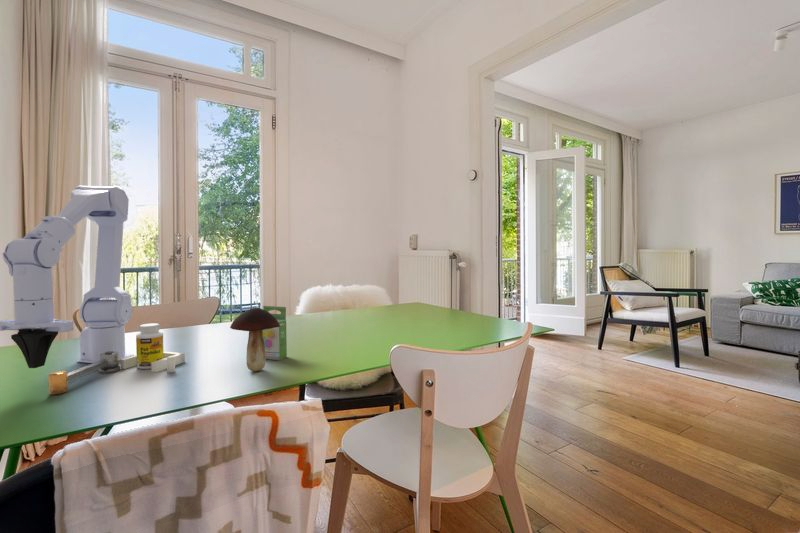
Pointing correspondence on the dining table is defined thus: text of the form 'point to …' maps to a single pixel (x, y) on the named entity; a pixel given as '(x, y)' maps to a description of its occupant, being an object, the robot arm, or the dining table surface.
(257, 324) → the decorative mushroom
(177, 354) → the socket
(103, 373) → the mount
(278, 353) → the ink box
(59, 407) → the dining table surface
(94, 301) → the robot arm
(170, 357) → the post
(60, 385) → the gold-tipped lever
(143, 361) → the supplement bottle
